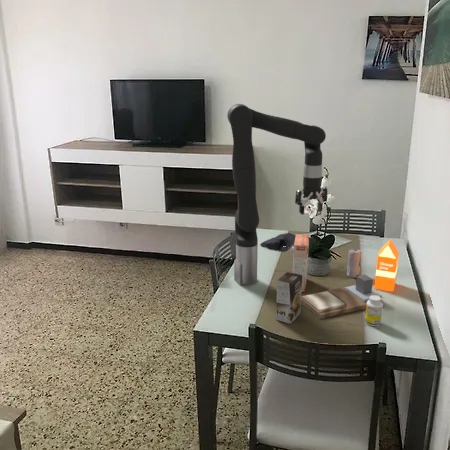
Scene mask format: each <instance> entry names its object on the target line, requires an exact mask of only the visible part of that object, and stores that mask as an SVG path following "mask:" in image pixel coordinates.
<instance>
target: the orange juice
mask: <svg viewBox="0 0 450 450" xmlns="http://www.w3.org/2000/svg"><path fill="white" fill-rule="evenodd" d="M399 254H400V251H399V250H398V249H397V247H396V245H395V244H394V242H393V240H392V239H391V238H390V239H389V240H388V241H387V242H386V243H385V244H384V245H383V246H382V247H381V248H380V249H379V251H378V254H377V260H376V268H375V269H376V270H375V279H374V289H376V290H381V291H387V292H394V289H395V286H396V280H397V272H398V264H399V263H398V262H399Z"/></svg>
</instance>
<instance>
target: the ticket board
mask: <svg viewBox="0 0 450 450" xmlns="http://www.w3.org/2000/svg"><path fill="white" fill-rule="evenodd" d="M301 303H302V304H301V305H302V306H304V305H305V306H306V307H307V308H306V307H305V306H304V307H305V308H306V309H308V311H310V310H311V311H312V312H313V313H312V312H311V311H310V312H311V313H312V314H313V315H315V316H316V315H317V316H318V317H319V318H318V317H317V316H316V317H317V318H318V319H320V318H322V319H324V318H323V317H326V318H328V317H327V316H330V317H332V316H331V315H334V316H337V315H336V314H339V315H342V314H341V313H343V314H347V313H351V312H350V311H352V312H356V311H360V310H363V309H364V310H366V304H367V301H365V302H363V301H362V300H360V299H359V298H357V297H356V296H354V295H353V294H352V293H350V292H349V291H347V290H346V289H345V287H344V286H342V287H339V288H332V289H329V290H328V289H327V290H324V291H319V292H315V293H309V294H304V295H301ZM355 310H356V311H355ZM346 312H347V313H346Z"/></svg>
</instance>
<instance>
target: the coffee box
mask: <svg viewBox="0 0 450 450" xmlns="http://www.w3.org/2000/svg"><path fill="white" fill-rule="evenodd" d="M301 290H302V275H299V274H294V273H293V272H289V271H286V272H285V273H284V274H283V275H281V277H279V278H278V279H277V281H276V301H275V302H276V305H275V320H277V321H278V322H279V321H280V322H283V323H285V324H289V323H290V324H292V323H293V322H294V321H295V320H296V319H297V318H298V317H299V316H300V315H301V311H302V310H301V307H302V304H301V296H302V292H301ZM299 314H300V315H299ZM290 324H289V325H290Z"/></svg>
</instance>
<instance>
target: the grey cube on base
mask: <svg viewBox="0 0 450 450" xmlns="http://www.w3.org/2000/svg"><path fill="white" fill-rule="evenodd" d="M355 279H356V281H355V284H354V285H349V286H345V287H344V288H345V289H346V290H347V291H349V292H350V293H352V294H353V295H354V296H356V297H357V298H359V299H360V300H362V301H363V302H367V301H368V300H369V297H370V296H372V295H376V296H379V297H380V298H381V299H382V298H383V295H382V294H380V293H379V292H377V291H375V290H374V289H373V283H374V282H373V281H374V279H373V278H371V277H370V276H368V275H367V274H359V276H357V278H355Z"/></svg>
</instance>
